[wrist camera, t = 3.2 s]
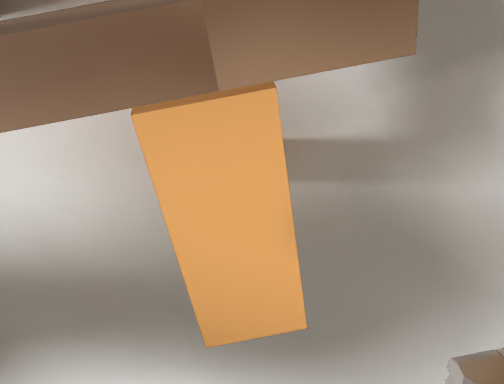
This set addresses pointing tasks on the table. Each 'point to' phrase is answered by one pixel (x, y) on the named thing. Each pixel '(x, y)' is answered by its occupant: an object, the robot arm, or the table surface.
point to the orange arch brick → (227, 209)
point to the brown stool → (183, 50)
